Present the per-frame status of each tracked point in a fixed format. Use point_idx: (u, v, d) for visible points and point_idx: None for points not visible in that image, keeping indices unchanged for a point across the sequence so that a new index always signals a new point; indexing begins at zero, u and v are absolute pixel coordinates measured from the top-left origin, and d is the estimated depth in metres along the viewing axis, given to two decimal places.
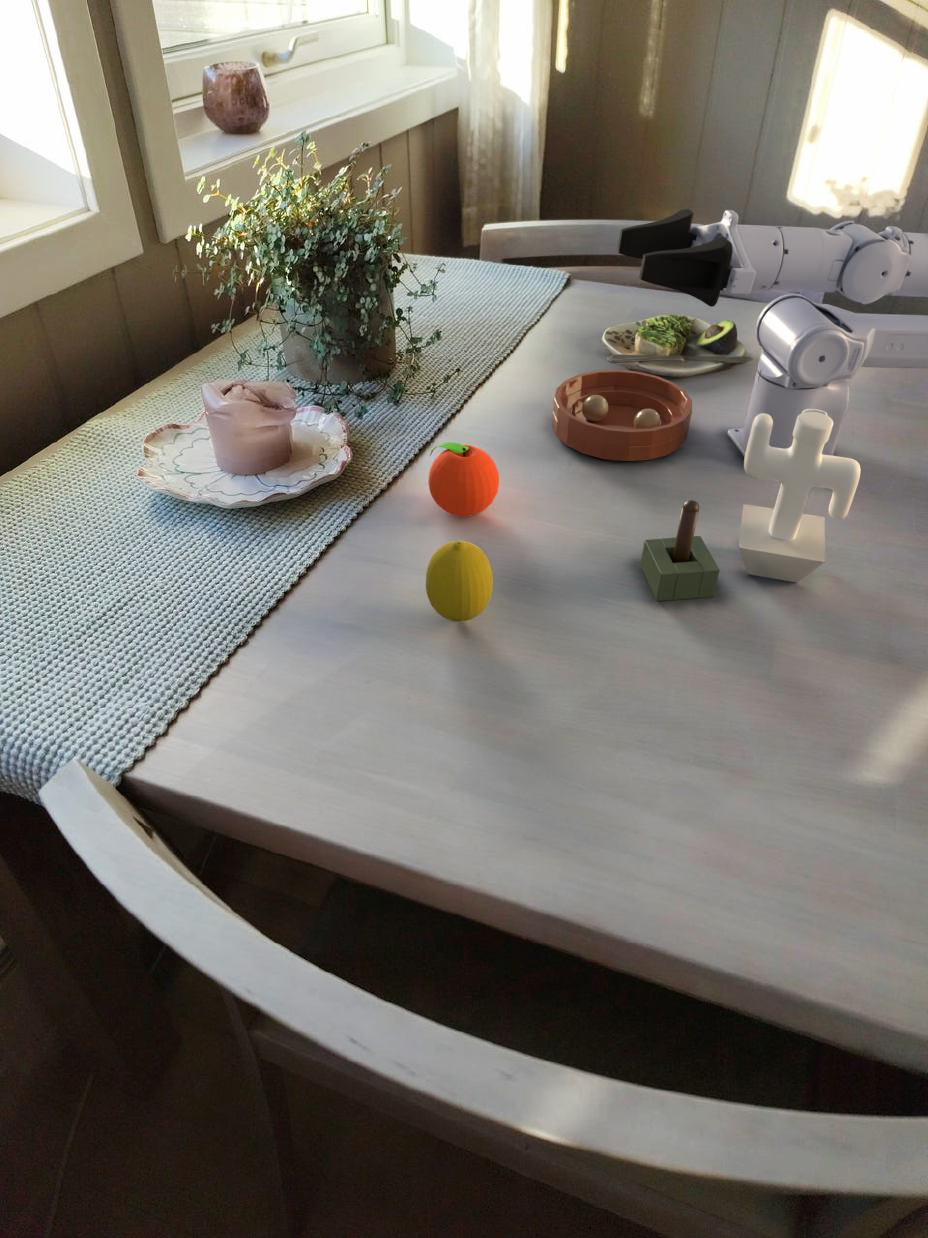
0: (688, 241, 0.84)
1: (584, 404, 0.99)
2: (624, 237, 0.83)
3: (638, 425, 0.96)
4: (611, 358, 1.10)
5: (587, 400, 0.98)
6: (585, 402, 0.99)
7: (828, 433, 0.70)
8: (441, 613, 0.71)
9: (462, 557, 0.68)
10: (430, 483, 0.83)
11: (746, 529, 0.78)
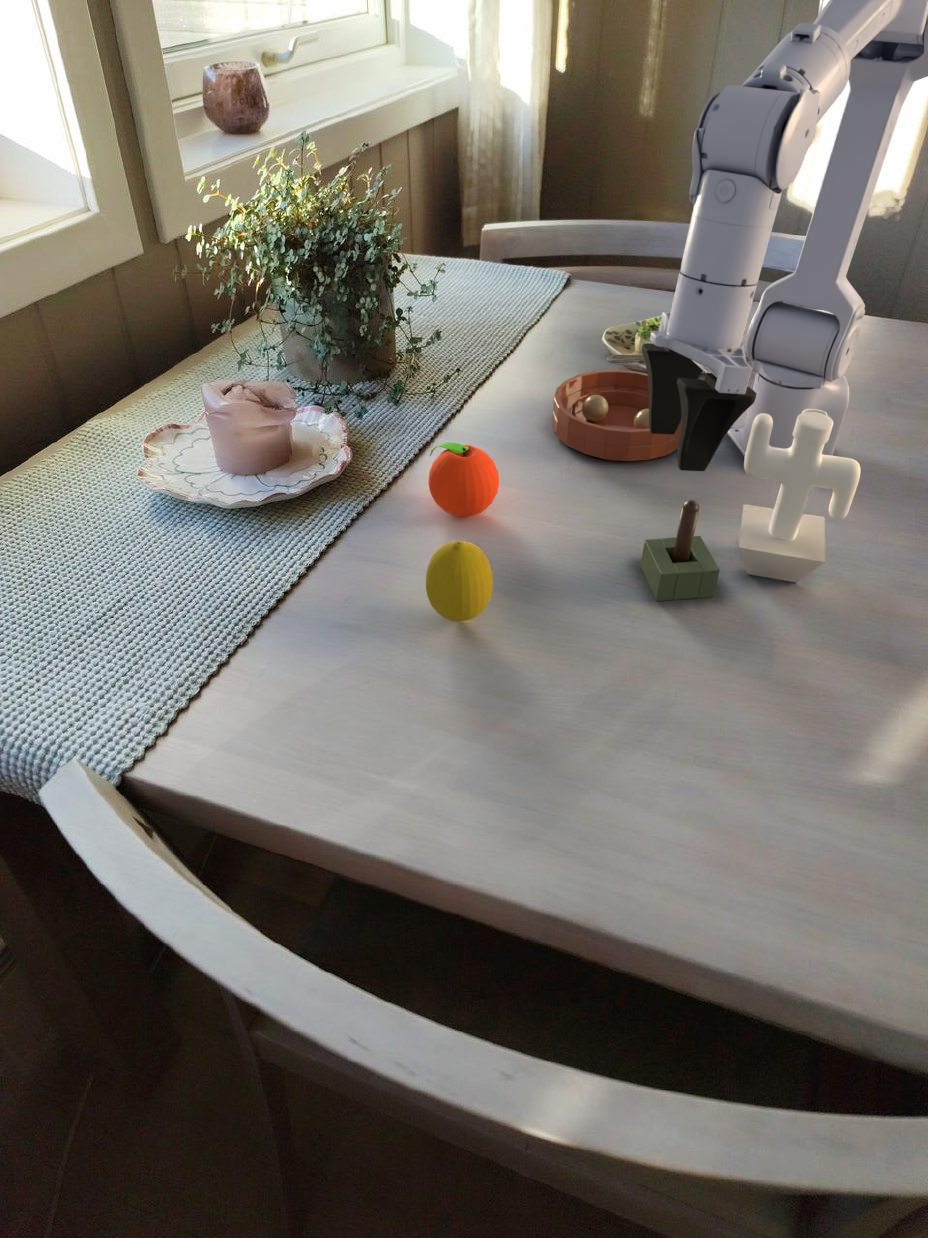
0: (678, 352, 0.71)
1: (584, 404, 0.99)
2: (659, 430, 0.74)
3: (638, 425, 0.96)
4: (611, 358, 1.10)
5: (587, 400, 0.98)
6: (585, 402, 0.99)
7: (828, 433, 0.70)
8: (441, 613, 0.71)
9: (462, 557, 0.68)
10: (430, 483, 0.83)
11: (746, 529, 0.78)
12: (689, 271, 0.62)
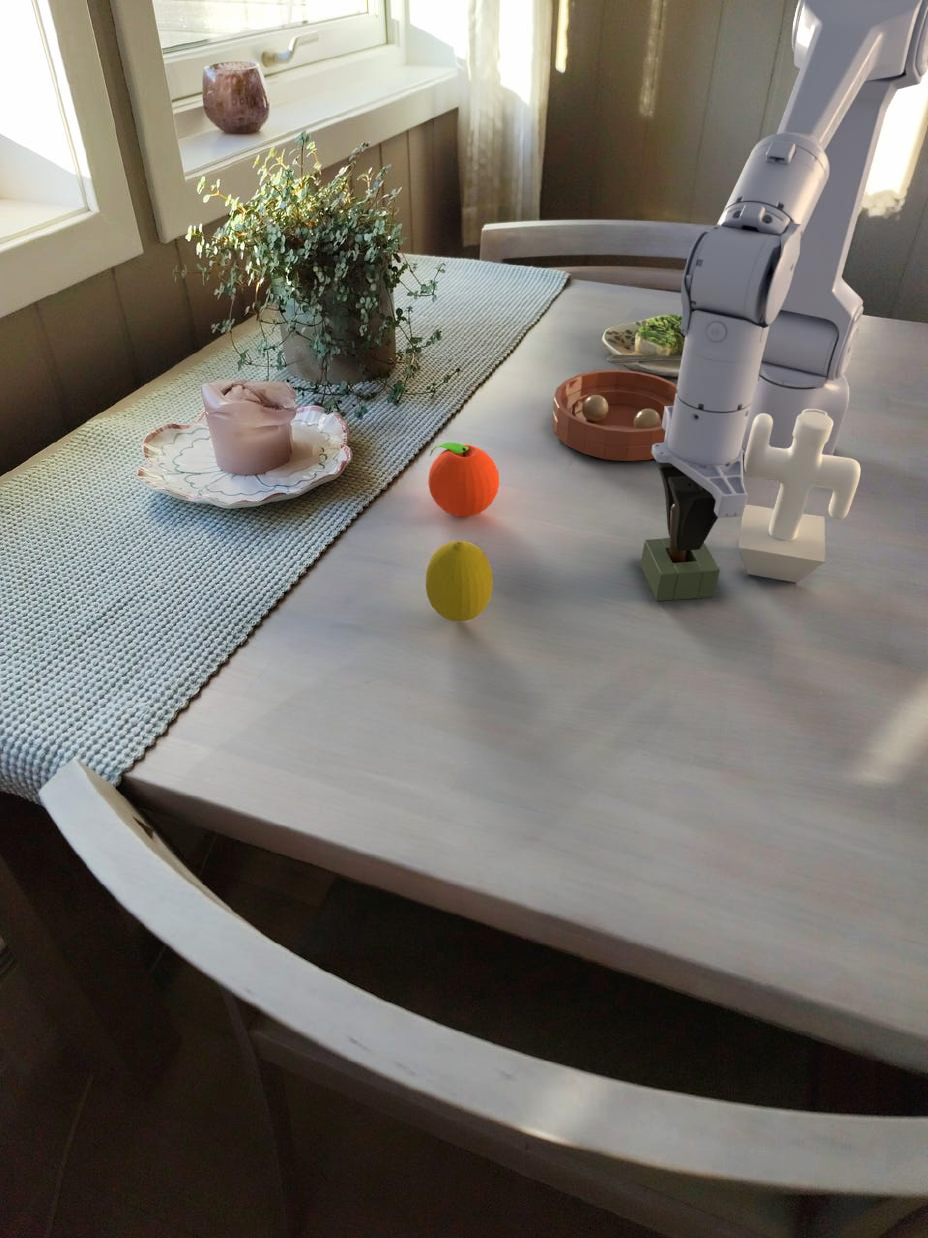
0: None
1: (584, 404, 0.99)
2: None
3: (638, 425, 0.96)
4: (611, 358, 1.10)
5: (587, 400, 0.98)
6: (585, 402, 0.99)
7: (828, 433, 0.70)
8: (441, 613, 0.71)
9: (462, 557, 0.68)
10: (430, 483, 0.83)
11: (746, 529, 0.78)
12: (686, 399, 0.65)
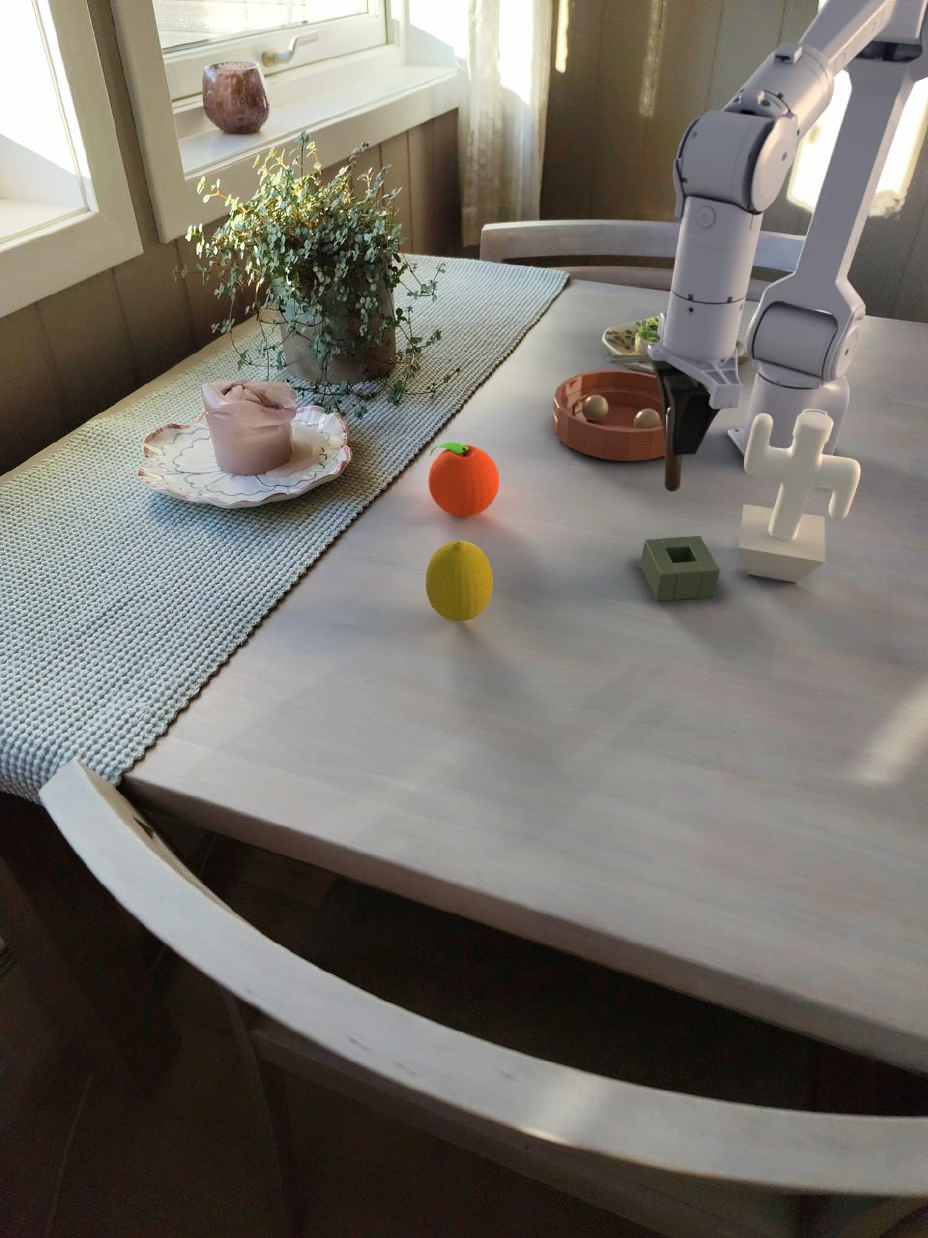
0: None
1: (584, 404, 0.99)
2: None
3: (638, 425, 0.96)
4: (611, 358, 1.10)
5: (587, 400, 0.98)
6: (585, 402, 0.99)
7: (828, 433, 0.70)
8: (441, 613, 0.71)
9: (462, 557, 0.68)
10: (430, 483, 0.83)
11: (746, 529, 0.78)
12: (678, 290, 0.66)
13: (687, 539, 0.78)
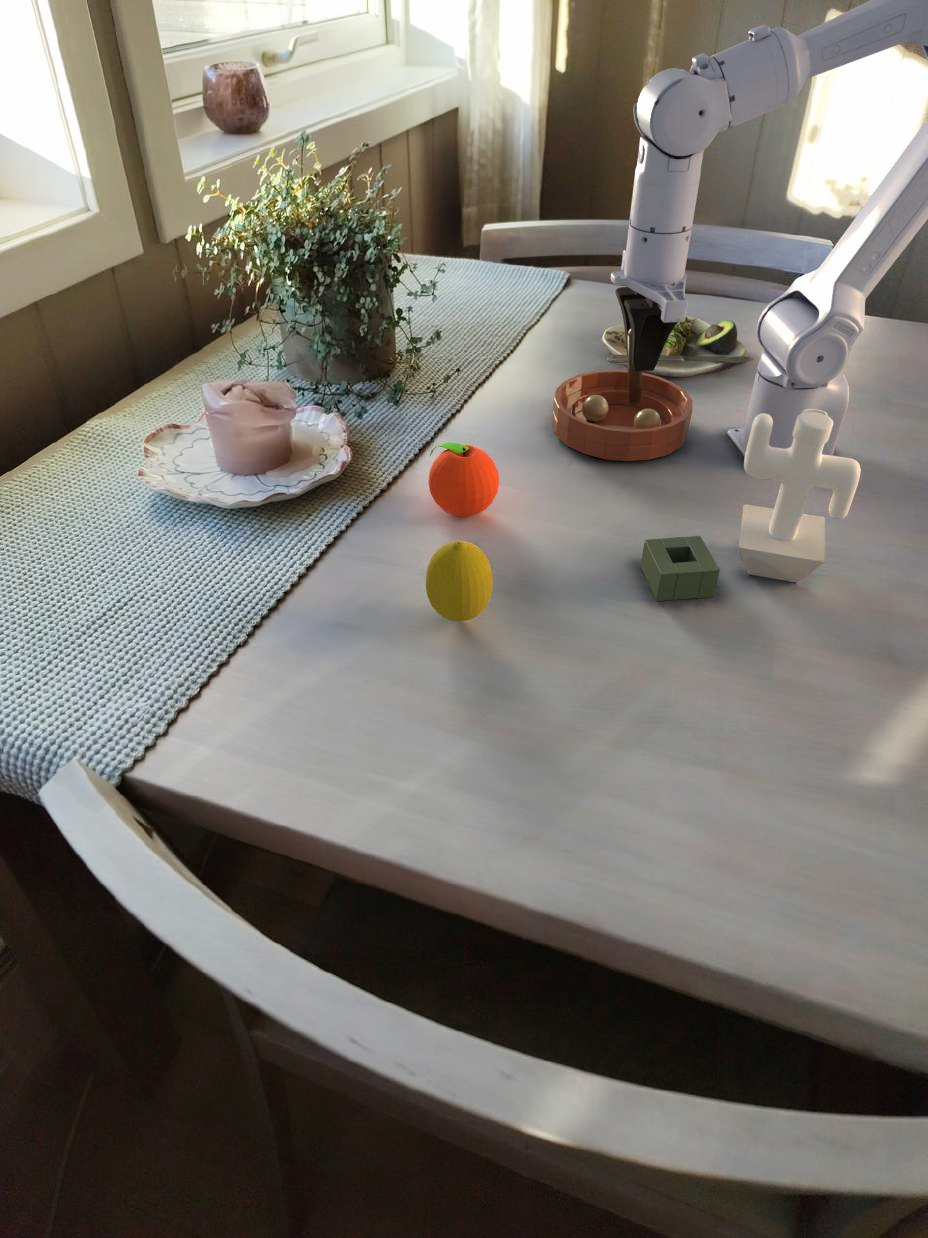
0: None
1: (584, 404, 0.99)
2: None
3: (638, 425, 0.96)
4: (611, 358, 1.10)
5: (587, 400, 0.98)
6: (585, 402, 0.99)
7: (828, 433, 0.70)
8: (441, 613, 0.71)
9: (462, 557, 0.68)
10: (430, 483, 0.83)
11: (746, 529, 0.78)
12: None
13: (687, 539, 0.78)
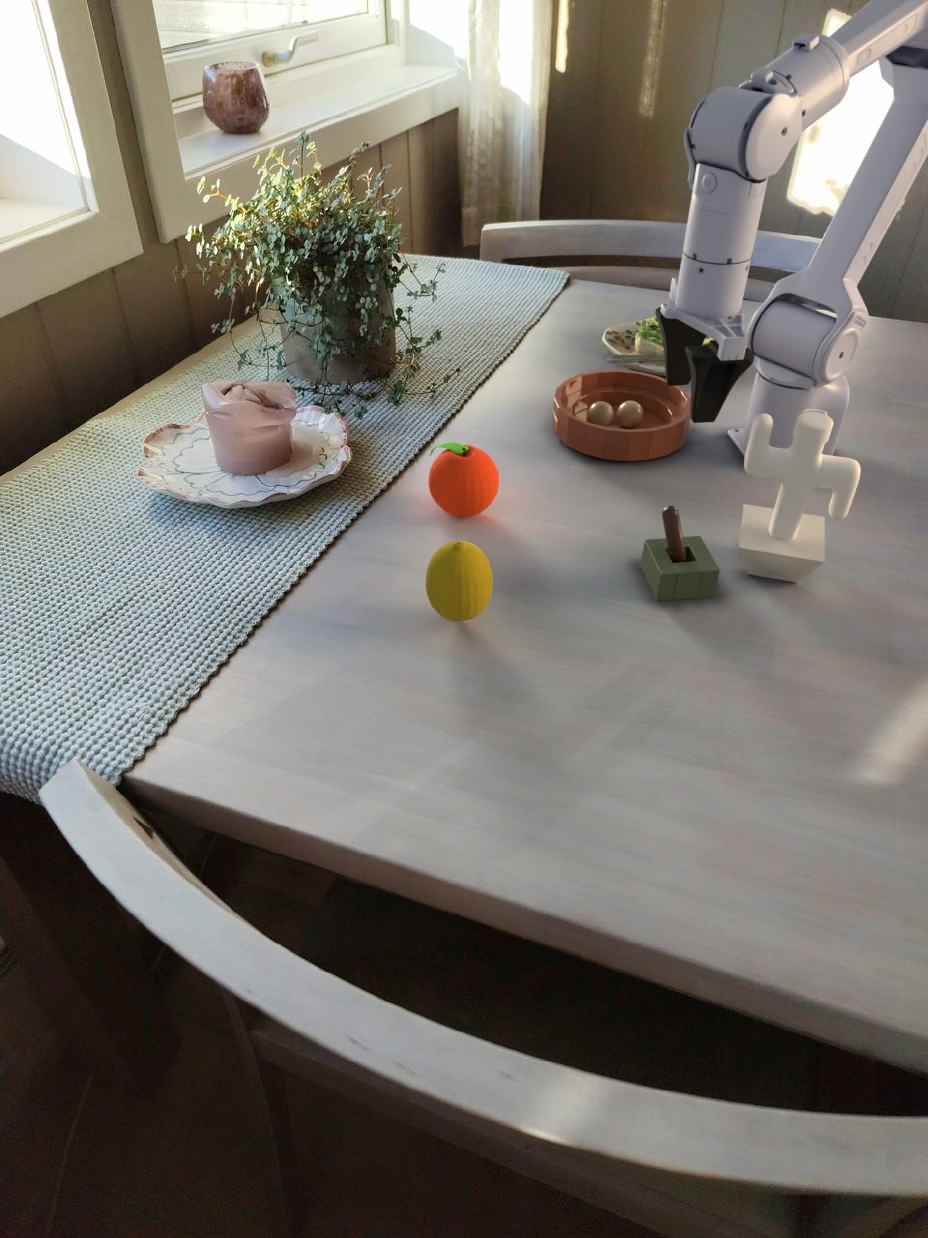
0: None
1: (589, 409, 0.98)
2: (674, 382, 0.85)
3: None
4: (611, 358, 1.10)
5: (591, 408, 0.97)
6: (590, 408, 0.97)
7: (828, 433, 0.70)
8: (441, 613, 0.71)
9: (462, 557, 0.68)
10: (430, 483, 0.83)
11: (746, 529, 0.78)
12: (686, 250, 0.73)
13: (687, 539, 0.78)
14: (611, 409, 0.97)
